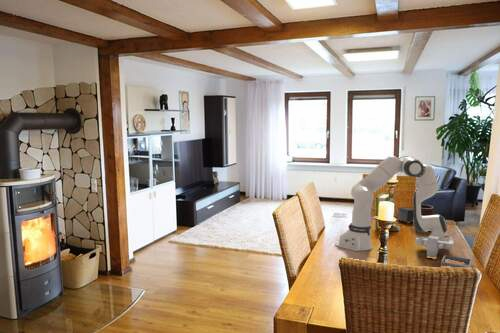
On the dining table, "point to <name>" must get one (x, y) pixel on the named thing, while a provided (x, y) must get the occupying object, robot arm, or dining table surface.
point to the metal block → (432, 246)
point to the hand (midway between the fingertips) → (432, 246)
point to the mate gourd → (426, 210)
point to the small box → (405, 214)
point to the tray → (467, 261)
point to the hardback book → (380, 198)
